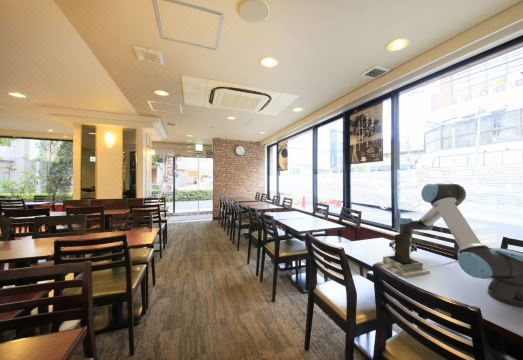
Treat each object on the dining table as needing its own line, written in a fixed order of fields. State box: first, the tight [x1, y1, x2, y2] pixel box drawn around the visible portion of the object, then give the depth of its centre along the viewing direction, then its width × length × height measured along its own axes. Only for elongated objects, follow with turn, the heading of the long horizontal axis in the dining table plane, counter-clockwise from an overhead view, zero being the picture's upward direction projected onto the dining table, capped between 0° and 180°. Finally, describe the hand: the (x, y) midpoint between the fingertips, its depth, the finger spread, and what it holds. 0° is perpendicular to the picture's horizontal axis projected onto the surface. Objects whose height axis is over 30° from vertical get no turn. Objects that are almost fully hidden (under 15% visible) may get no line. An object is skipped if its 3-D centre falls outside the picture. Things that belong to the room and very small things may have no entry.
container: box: [394, 233, 411, 265], centre depth 136 cm, size 9×9×18 cm
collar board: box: [376, 254, 431, 278], centre depth 136 cm, size 20×20×6 cm
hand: (401, 250), depth 132 cm, fingers closed on container, 8 cm apart
